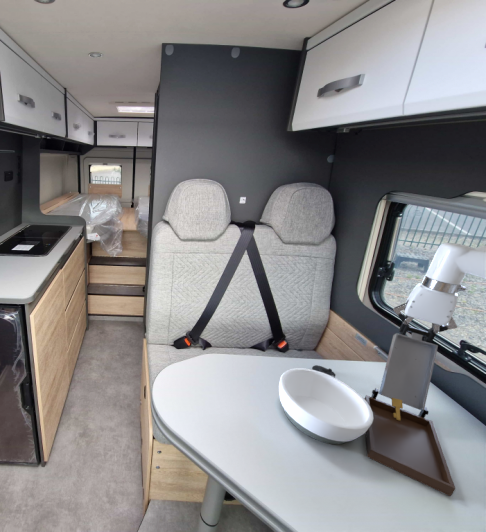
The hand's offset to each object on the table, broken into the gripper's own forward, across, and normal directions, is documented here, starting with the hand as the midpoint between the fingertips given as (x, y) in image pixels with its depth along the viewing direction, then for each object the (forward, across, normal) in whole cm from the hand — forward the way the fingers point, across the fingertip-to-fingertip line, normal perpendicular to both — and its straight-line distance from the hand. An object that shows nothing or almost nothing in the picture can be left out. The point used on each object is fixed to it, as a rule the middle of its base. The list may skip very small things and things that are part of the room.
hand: (414, 337), depth 96 cm
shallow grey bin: (+7, 0, +5) cm, 9 cm away
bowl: (+20, +19, +32) cm, 42 cm away
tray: (+20, 0, +25) cm, 32 cm away
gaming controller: (+20, +19, +11) cm, 30 cm away
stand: (+20, 0, +13) cm, 24 cm away
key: (+18, 0, +15) cm, 23 cm away
